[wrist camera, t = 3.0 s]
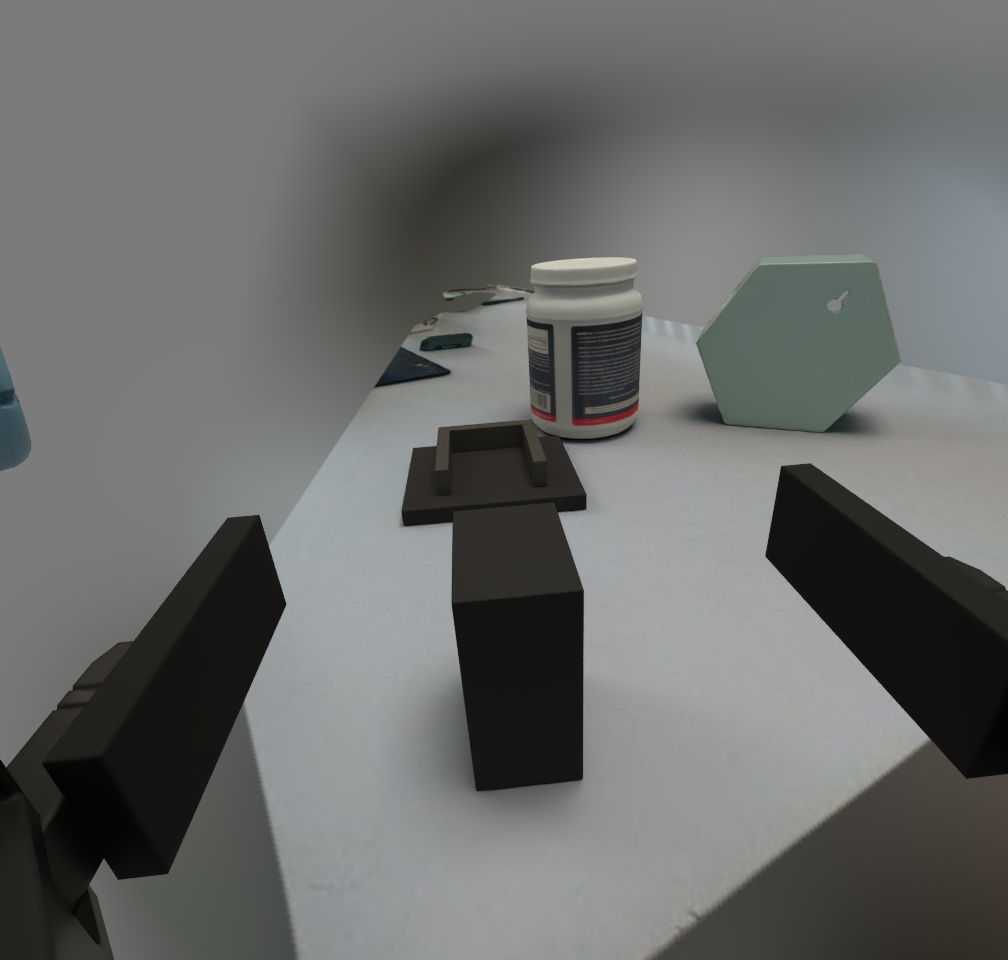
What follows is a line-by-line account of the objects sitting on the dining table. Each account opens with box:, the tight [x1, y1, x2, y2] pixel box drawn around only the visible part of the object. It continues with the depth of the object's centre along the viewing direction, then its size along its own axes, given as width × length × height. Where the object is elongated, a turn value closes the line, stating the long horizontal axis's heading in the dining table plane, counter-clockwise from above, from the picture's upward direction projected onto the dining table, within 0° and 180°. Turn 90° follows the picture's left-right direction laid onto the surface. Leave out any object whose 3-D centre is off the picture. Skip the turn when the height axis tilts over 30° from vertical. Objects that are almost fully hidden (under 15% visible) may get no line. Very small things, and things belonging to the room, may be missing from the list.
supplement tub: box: [526, 257, 643, 439], centre depth 62 cm, size 13×13×18 cm
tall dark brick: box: [452, 502, 584, 791], centre depth 26 cm, size 5×7×11 cm
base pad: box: [402, 420, 586, 526], centre depth 53 cm, size 16×14×4 cm
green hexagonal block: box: [697, 254, 901, 432], centre depth 60 cm, size 17×8×21 cm, turn 65°
